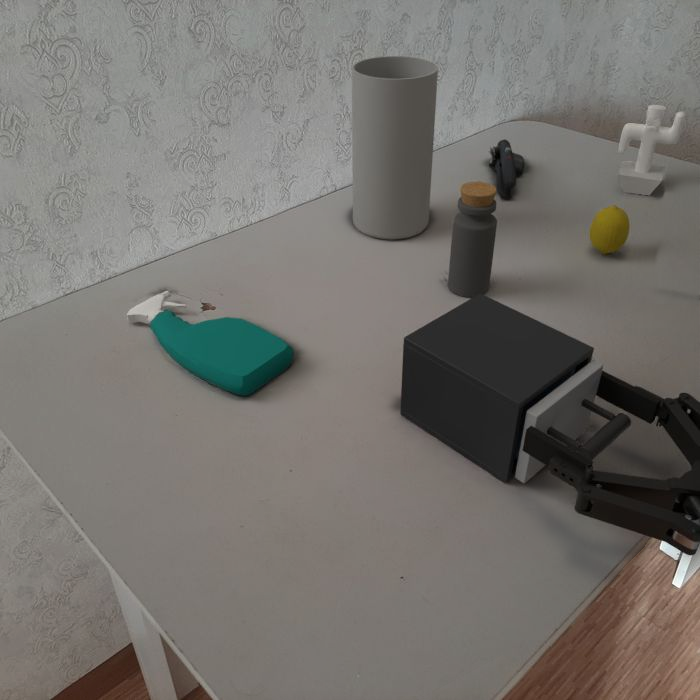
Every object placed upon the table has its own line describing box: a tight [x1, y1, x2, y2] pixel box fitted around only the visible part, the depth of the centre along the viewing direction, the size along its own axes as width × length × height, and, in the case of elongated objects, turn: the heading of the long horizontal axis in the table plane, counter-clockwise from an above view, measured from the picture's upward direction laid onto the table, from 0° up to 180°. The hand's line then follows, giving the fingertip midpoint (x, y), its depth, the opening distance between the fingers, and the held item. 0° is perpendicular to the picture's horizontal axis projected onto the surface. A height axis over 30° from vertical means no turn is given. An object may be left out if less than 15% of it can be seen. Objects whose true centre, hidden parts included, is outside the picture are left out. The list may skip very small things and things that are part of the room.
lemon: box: [589, 204, 630, 255], centre depth 107 cm, size 6×6×8 cm
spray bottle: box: [126, 290, 295, 397], centre depth 91 cm, size 3×11×24 cm
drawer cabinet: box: [399, 294, 595, 485], centre depth 76 cm, size 15×13×11 cm
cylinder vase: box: [351, 55, 439, 240], centre depth 111 cm, size 12×12×25 cm
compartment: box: [514, 359, 632, 484], centre depth 73 cm, size 18×11×9 cm, turn 43°
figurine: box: [617, 104, 687, 196], centre depth 125 cm, size 7×9×15 cm
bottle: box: [447, 181, 498, 298], centre depth 98 cm, size 6×6×15 cm
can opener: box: [488, 139, 526, 200], centre depth 131 cm, size 18×7×6 cm, turn 170°
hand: (563, 408), depth 70 cm, fingers closed on compartment, 11 cm apart
